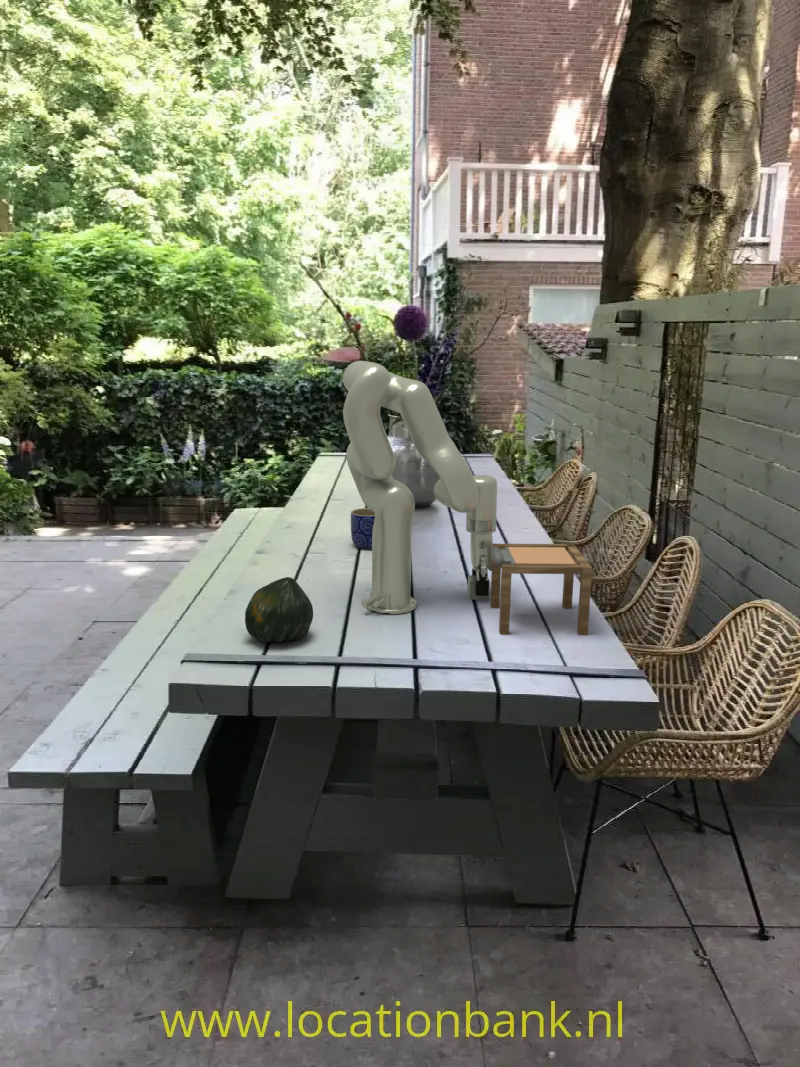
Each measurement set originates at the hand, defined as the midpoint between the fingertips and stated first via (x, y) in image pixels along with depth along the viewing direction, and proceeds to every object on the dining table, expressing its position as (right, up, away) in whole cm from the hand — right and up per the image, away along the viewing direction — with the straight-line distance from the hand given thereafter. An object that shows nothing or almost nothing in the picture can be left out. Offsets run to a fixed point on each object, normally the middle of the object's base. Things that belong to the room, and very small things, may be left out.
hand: (479, 589), depth 222 cm
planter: (-30, +10, +46) cm, 56 cm away
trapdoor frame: (+12, -6, -16) cm, 21 cm away
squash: (-47, -9, -29) cm, 56 cm away
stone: (0, -2, 0) cm, 2 cm away
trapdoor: (+10, +8, -19) cm, 23 cm away
